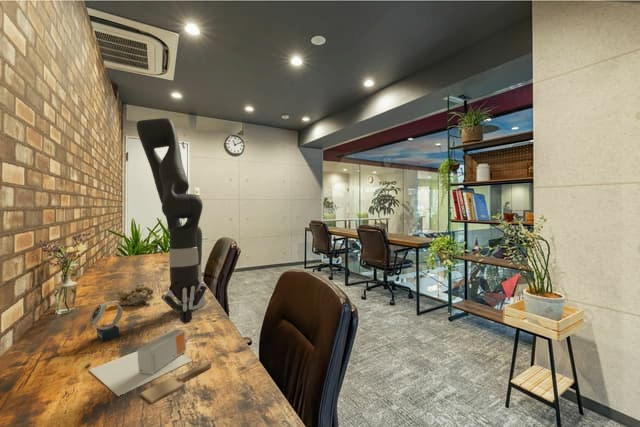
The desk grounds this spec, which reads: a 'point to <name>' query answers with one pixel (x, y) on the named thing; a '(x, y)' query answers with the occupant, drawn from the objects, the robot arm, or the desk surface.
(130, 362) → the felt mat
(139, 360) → the skincare box
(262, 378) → the desk surface
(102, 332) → the watch
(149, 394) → the wooden turner
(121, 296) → the mineral formation
